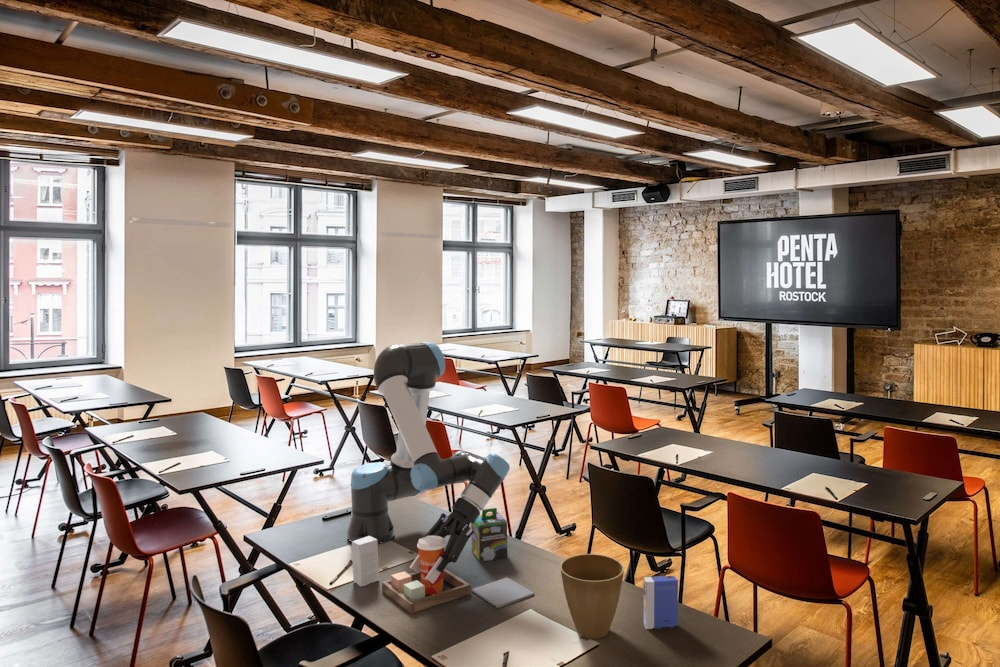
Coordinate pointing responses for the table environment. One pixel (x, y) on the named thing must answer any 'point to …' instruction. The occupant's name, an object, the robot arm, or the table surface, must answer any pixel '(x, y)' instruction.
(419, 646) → the table surface
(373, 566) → the skincare box
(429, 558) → the paper cup
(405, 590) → the sage block
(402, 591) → the terracotta block
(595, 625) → the plant pot
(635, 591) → the table surface
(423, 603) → the walnut frame
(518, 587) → the grey pad
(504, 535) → the chalk box
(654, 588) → the blue carton
